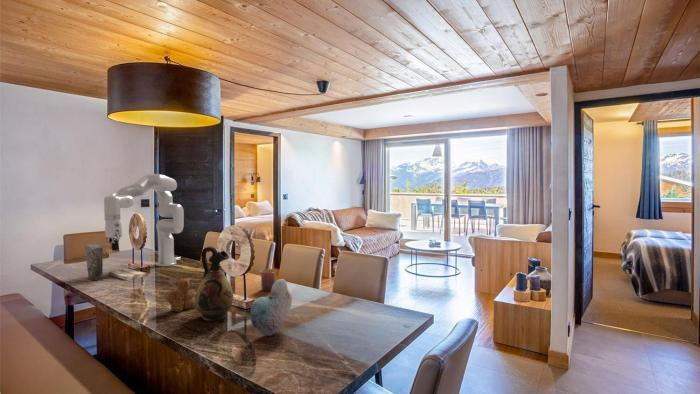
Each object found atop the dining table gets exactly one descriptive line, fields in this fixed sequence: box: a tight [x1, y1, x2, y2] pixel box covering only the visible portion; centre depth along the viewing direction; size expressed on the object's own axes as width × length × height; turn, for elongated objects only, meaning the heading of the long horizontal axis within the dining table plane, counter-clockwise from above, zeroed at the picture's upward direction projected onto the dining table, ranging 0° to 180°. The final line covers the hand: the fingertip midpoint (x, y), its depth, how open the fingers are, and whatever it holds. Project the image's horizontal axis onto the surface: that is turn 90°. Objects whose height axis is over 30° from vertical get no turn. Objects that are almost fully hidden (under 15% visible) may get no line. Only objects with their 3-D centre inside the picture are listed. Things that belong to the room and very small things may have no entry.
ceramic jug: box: [194, 245, 234, 322], centre depth 154 cm, size 17×15×30 cm
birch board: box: [108, 268, 147, 281], centre depth 221 cm, size 11×22×2 cm, turn 57°
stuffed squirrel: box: [164, 278, 196, 313], centre depth 164 cm, size 10×14×13 cm
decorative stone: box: [250, 278, 293, 337], centre depth 136 cm, size 21×9×20 cm, turn 151°
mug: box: [259, 268, 277, 292], centre depth 194 cm, size 12×9×10 cm
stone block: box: [84, 243, 104, 282], centre depth 214 cm, size 13×7×20 cm, turn 54°
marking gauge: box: [99, 241, 121, 255], centre depth 203 cm, size 9×4×6 cm, turn 147°
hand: (113, 249), depth 205 cm, fingers closed on marking gauge, 3 cm apart
